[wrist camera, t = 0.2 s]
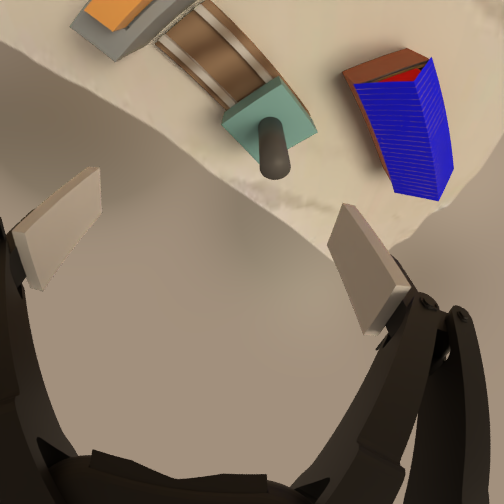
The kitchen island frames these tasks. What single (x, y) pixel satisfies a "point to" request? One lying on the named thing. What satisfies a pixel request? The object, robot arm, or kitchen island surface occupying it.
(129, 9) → the button
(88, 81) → the kitchen island surface
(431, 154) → the house
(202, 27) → the rail bed
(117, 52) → the cabinet
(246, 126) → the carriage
